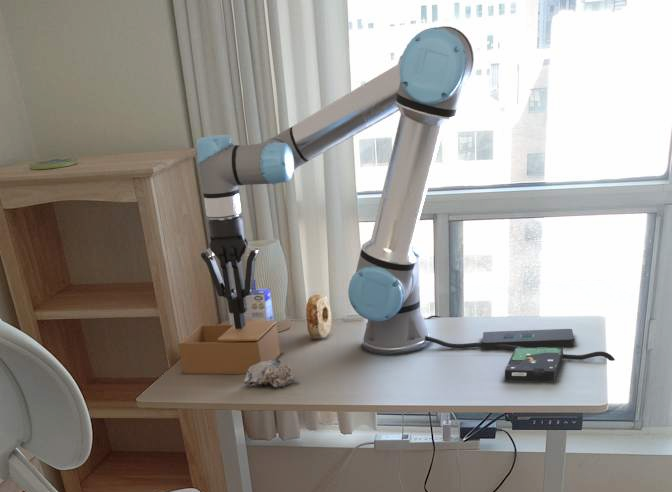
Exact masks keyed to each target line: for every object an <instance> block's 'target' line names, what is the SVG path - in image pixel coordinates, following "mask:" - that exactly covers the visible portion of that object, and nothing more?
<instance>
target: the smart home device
mask: <svg viewBox="0 0 672 492" xmlns="http://www.w3.org/2000/svg"><path fill="white" fill-rule="evenodd" d="M482 343H483V347H482V350H503V349H502V348H496V347H495V345H497V344H505V345H513V346H519V347H525V348H538V347H545V348H564V347H568V348H569V347H574V346H575V337H574V332H573V329H572V328H557V329H556V328H554V329H553V328H551V329H526V330H525V329H524V330H502V331H484V332H483V333H482Z"/></svg>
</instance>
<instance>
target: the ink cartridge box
mask: <svg viewBox="0 0 672 492" xmlns="http://www.w3.org/2000/svg"><path fill="white" fill-rule="evenodd" d="M256 283H257V279H254V284H253V292H252V293H251V294H250V295H248V296H246V305H247V311H246V312H245V313H244V318H245V321H275V320H274V311H273V301H272V293H271V289H270V288H257V284H256ZM244 285H245V279H244ZM234 292H235V293H236V289H234ZM235 296H237V293H236V294H235V295H234V297H235ZM226 304H227V306H228V301H227V300H226ZM227 310H228V311H227V312H228V319H229V325H234V324H235V323H234V316H233V313H230V312H229V308H228V307H227Z"/></svg>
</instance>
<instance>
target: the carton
mask: <svg viewBox="0 0 672 492" xmlns="http://www.w3.org/2000/svg"><path fill="white" fill-rule="evenodd" d="M232 326H233V325H230V324H200V325H199V326H198V327H197V328H195V329H194V330H193V331H192V332H190V333H189V334H188V335H187V336H185V337H184V338H183V339H182V340H180V341H179V342H177V343H178V349H179V356H180V361H181V368H182V373H183V375H184V374H186V375H187V374H188V375H189V374H192V375H193V374H197V375H198V374H201V375H202V374H205V375H206V374H207V375H208V374H209V375H210V374H211V375H214V374H217V375H218V374H219V375H222V374H224V375H230V374H231V375H233V374H235V375H240V374H241V375H246V374H247V372H248V369H249V368H250V367H251V366H253V365H256V364H258V363H259V362H264V361H269V360H274V359H278V357H279V356H280V355H281V354H282V353H281V344H280V338H279V337H280V336H279V328H278V324H277V323H275V324H274V325H273V326H272V327H271V328H270V329H269V330H268V331H267V332H266V333H265V334H264V335H263V336H262V337H261V338H260V339H259V340H258V341H218V338H219V337H220V336H222V335H223V334H224V333H225V332H226V331H227V330H228V329H230V328H231V327H232Z"/></svg>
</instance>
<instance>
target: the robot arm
mask: <svg viewBox="0 0 672 492" xmlns="http://www.w3.org/2000/svg"><path fill="white" fill-rule="evenodd" d="M474 60H475V58H474V50H473V47H472V43H471V42H470V40H469V38H468V37H467V36H466V35H465V34H464V32H462V31H461V30H459V29H457V28H456V27H452V26H445V25H444V26H438V27H437V26H435V27H429V28H426V29H424V30H421V31H419V33H417V34H416V35H415V36H414V37H413V38H411V39H410V41H409V42H408V43H407V44H406V46H405V49H404V50H403V52H402V55H400V56H399V58H398V63H397V64H395V65H394V66H392V67H391V68H389V69H387V70H386V71H384V72H382V73H380V74H378V75H377V76H375V77H373V78H372V79H370V80H368V81H366V82H365V83H364V84H361V85H360V86H358V87H357V88H355V89H353V90H352V91H350V92H348V93H346V94H345V95H343V96H341V97H339V98H338V99H336V100H334V101H333V102H331V103H329V104H328V105H325V106H324V107H323V108H321V109H319V110H318V111H316V112H314V113H312V114H310V115H309V116H307V117H306V118H304V119H302V120H301V121H298V122H297V123H295V124H294V125H292V126H291V127H288V128H287V129H284V130H283V131H282V132H280V133H278V134H276V135H274V136H273V137H270V138H268V139H267V140H264V141H261V142H260V143H253V144H251V143H250V144H242V145H240V144H234V142H233V138H232V136H231V135H229V134H216V135H215V134H214V135H208V136H203V137H201V138H199V139H198V140H197V141H196V152H197V153H196V155H197V165H198V169H199V176H200V180H201V186H202V192H203V194H202V195H203V201H204V207H205V213H206V214H205V215H206V217H207V218H208V219H207V227H208V234H209V238H210V241H209V247H208V248H207V249H206V250H204V251H202V252H201V253H200V258H201V259H202V260H203V261H204V263H205V264H206V266H207V269H208V271H209V274H210V277H211V279H212V282H213V285H214V288H215V290H216V293H217V295H218V296H219V297H220V298H221V297H223V298H226V302H227V301H228V305H227V309H228V308H229V312H230V313H233V316H234V323H235V329H242V328H243V327H244V326H245V318H244V313H245V312H246V311H247V305H246V296H248V295H250V294H251V293H252V292H253V284H254V280H255V272H256V261H257V258H258V255H259V254H260V250H259V248H257V247H256V248H254V247H252V246H250V245H249V242H248V240H247V239H246V235H245V227H244V219H243V216H242V215H240V214H241V213H242V211H243V210H242V205H241V204H242V203H241V196H240V189H239V186H249V185H251V186H252V185H278V184H284V183H289V182H290V181H291V180H292V178H293V174H294V171H295V170H296V169H298V168H299V167H301V166H303V165H304V164H306V163H309V162H310V161H311V160H313V159H315V158H317V157H318V156H320V155H322V154H324V153H326V152H327V151H329V150H331V149H333V148H334V147H337V146H338V145H340V144H342V143H343V142H345V141H348V140H349V139H350V138H352V137H354V136H356V135H358V134H360V133H361V132H363V131H365V130H367V129H368V128H370V127H372V126H374V125H376V124H378V123H380V122H381V121H384V120H385V119H387V118H388V117H390V116H392V115H394V114H396V113H398V112H399V113H400V116H399V120H398V125H397V129H396V133H395V137H394V140H393V141H394V142H393V145H392V150H391V154H390V157H389V161H388V167H387V171H386V175H385V178H384V179H385V180H384V183H383V184H384V185H383V187H382V191H381V196H380V200H379V204H378V209H377V214H376V217H375V221H374V225H373V230H372V234H371V238H370V239H369V240H367V241H366V242H364V243H363V244H362V246H361V249H360V253H359V258H358V261H357V266H356V270H355V273H354V274H353V275H352V276H351V278H350V280H349V285H348V291H347V294H348V299H349V303H350V305H351V306H352V308H353V310H354V311H355V312H356V313H357V314H358V315H359V316H360V317H362V318H363V319H365V320H367V322H366V324H365V325H366V326H365V329H364V335H363V348H364V349H365V350H366V351H368V352H370V353H375V354H380V355H400V354H408V353H412V352H416V351H419V350H422V349H424V348H426V347H427V346H428V345H429V343H430V342H431V343H434V344H437V345H440V346H442V347H445V348H451V349H469V348H470V349H471V348H483V342H469V343H451V342H446V341H445V340H442V339H437V338H435V337H432V336H430V334H429V330H428V327H427V325H426V321H425V318H424V316H423V313H422V309H421V295H420V290H421V289H420V265H419V264H420V263H419V260H420V259H419V258H420V254H419V247H418V246H419V245H418V244H417V242H416V241H415V237H416V233H417V229H418V226H419V222H420V218H421V214H422V211H423V206H424V203H425V199H426V195H427V192H428V188H429V184H430V180H431V176H432V172H433V168H434V164H435V161H436V157H437V153H438V150H439V146H440V142H441V139H442V134H443V131H444V128H445V126H446V124H447V123H449V122H451V121H453V120H454V119H455V116H456V112H457V109H458V106H459V102H460V99H461V94H462V90H463V87H464V86H465V84H466V83H467V82H468V80H469V79H470V77H471V75H472V72H473V68H474V62H475V61H474ZM245 254H246V258H247V259H246V267H245V278H244V271H243V257H244V255H245ZM215 256H216V258H217V259H218V260H219V264H220V268H221V271H220V268H219V266H218V262H217V261H216V259H215ZM221 272H222V274H221ZM244 280H245V284H244ZM234 290H236V293H237V296H235V297H234V295H235V294H236V293H235V292H234ZM229 312H228V313H229ZM495 347H496V348H502V349H501V350H510V351H514V350H515V349H517V348H518V347H519V346H513V345H505V344H497V345H495ZM520 348H525V347H520ZM595 357H596V358H597V357H603V358H605V359H607V360H608V361H611V362H612V361H613V362H614V361H616V358H615V357H614V356H613V355H612V354H611V353H608V352H605V351H594V352H593V351H592V352H589V353H584V354H566V353H563V359H562V360H576V361H577V360H579V361H580V360H587V359H591V358H595Z"/></svg>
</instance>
